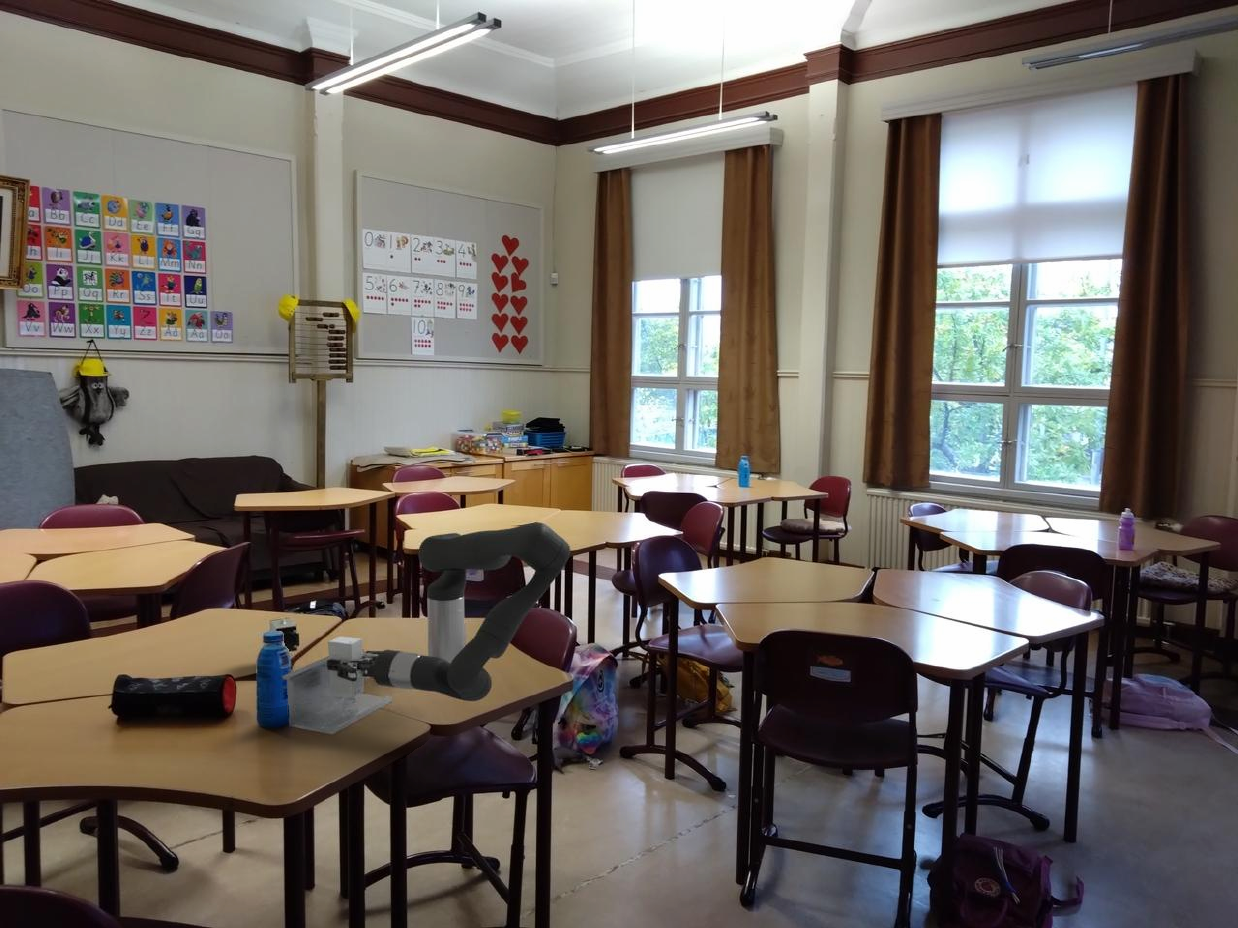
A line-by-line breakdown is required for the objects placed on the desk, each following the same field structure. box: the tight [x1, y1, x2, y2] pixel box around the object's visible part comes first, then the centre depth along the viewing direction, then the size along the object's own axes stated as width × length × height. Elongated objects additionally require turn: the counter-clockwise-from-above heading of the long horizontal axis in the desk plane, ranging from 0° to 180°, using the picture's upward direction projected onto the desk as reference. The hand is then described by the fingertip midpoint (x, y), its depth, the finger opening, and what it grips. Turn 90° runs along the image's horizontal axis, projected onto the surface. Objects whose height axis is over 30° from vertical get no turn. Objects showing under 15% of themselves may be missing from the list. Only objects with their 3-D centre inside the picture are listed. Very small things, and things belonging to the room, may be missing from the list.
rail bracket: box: [281, 655, 393, 735], centre depth 192 cm, size 20×13×11 cm, turn 158°
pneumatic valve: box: [269, 617, 300, 657], centre depth 223 cm, size 6×12×12 cm, turn 32°
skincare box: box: [327, 636, 365, 698], centre depth 191 cm, size 6×4×12 cm
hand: (335, 660), depth 192 cm, fingers closed on skincare box, 4 cm apart
